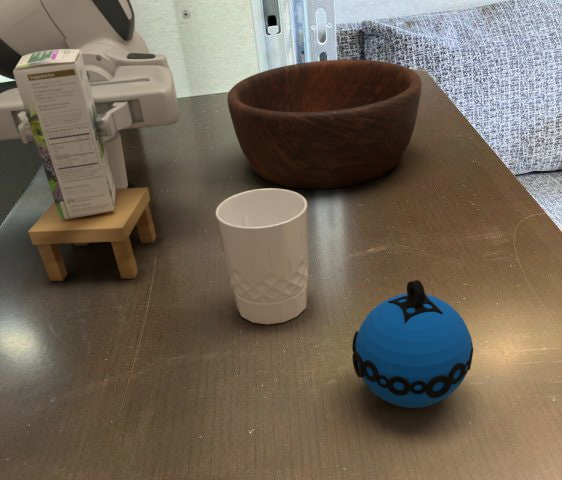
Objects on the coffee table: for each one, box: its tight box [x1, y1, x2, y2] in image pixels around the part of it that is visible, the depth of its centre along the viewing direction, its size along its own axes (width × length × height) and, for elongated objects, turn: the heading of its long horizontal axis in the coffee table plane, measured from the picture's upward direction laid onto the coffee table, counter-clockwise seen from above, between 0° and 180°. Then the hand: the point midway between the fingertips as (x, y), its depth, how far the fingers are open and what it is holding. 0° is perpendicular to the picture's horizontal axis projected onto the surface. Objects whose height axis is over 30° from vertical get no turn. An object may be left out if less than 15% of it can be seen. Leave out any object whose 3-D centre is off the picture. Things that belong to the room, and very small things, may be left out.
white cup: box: [215, 187, 309, 325], centre depth 56 cm, size 8×8×10 cm
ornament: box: [351, 279, 474, 409], centre depth 45 cm, size 9×9×10 cm
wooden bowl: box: [227, 59, 423, 190], centre depth 83 cm, size 25×25×10 cm
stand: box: [27, 186, 157, 282], centre depth 68 cm, size 10×10×6 cm
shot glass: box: [103, 131, 129, 189], centre depth 84 cm, size 7×7×7 cm
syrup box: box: [13, 49, 116, 220], centre depth 62 cm, size 6×6×14 cm
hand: (65, 132), depth 60 cm, fingers closed on syrup box, 6 cm apart
